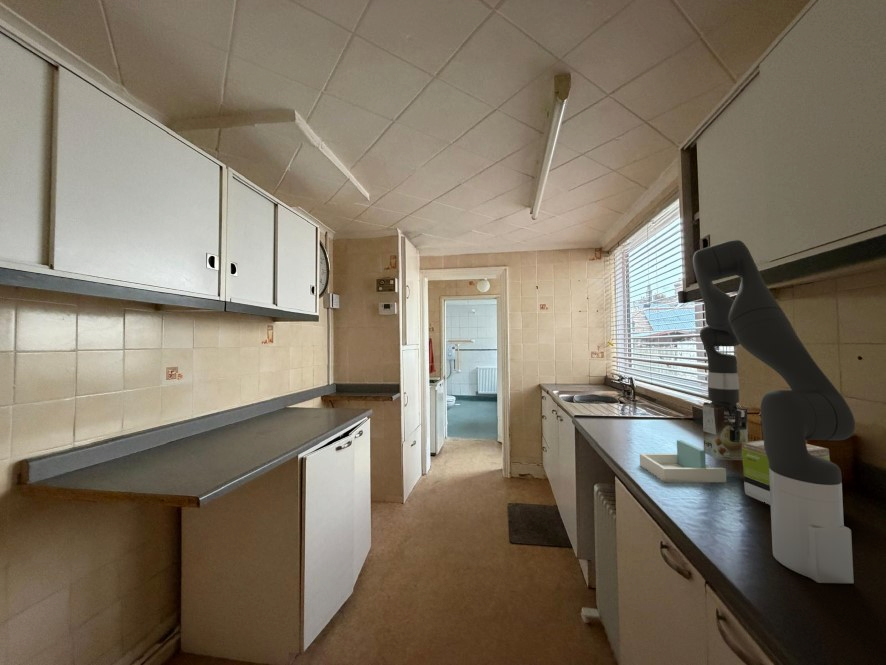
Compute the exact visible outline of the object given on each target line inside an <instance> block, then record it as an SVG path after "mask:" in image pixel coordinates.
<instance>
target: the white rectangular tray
mask: <svg viewBox="0 0 886 665" xmlns="http://www.w3.org/2000/svg"><path fill="white" fill-rule="evenodd" d="M640 465H641V466H640ZM639 466H640V467H641V468H643V467H644V468H643V469H644V470H646V469H647V470H649V471H650V472H651V473H650V472H649V471H648V472H649V473H650V474H652V473H653V474H654V475H653V474H652V475H653V476H655V475H656V476H657V477H656V476H655V477H656V478H658V479H659V478H660V479H659V480H661V481H662V482H663V481H664V483H727V468H725V467H713V466H710V465H709V464H707V463H706V468H686V467H684V466H682V465H680V464H678V461H677V453H639ZM647 470H646V471H647Z"/></svg>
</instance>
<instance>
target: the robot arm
mask: <svg viewBox="0 0 886 665" xmlns="http://www.w3.org/2000/svg"><path fill="white" fill-rule="evenodd" d="M692 264H693V270H694V274H695V279H696V282H697V286H698V289H699V292H700V295H701V297H702V301H703V302H702V303H703V305H704V314H705V316H704V317H705V322H706V323H705V324H706V325H704V326H703V327H701V330H700V331H699V338H700V340H701V343H702V345H703V347H704V350H705V352H706V357H707V368H708V374H707V398H708V399H707V400H708V401H705V402H703V404H704V405H716V406H721V407H724V408H728V410H729V415H732V413H733V412H734V415H735V420H730V419H729V418H727V422H728V423H729V427H730V429H731V430H730V441H731V442H739V441H740V430H746V429H747V423H748V410H747V411H746V410H739V409H738V408H737V406H738V405H737V404H738V403H740V384H739V383H740V381H739V375H738V360H737V359H738V358H737V357H736V356H735V355H734V354H730V353H729V354H728V353H723V352H720V351H718V350H717V349H716V348H715V347H738V346H739V345H741V347H742V348H743V349H745V351H746V352H748V353H749V354H751V355H752V356H753V357H754V358H756V359H757V360H759V361H761V362H763V363H764V364H766V366H768V367H770V368H771V369H772V370H773V371H775V372H776V373H777V374H778V375H780V376H781V378H782V379H783V380H784V381H785V382H786V384H787V385H788V387H789V388H790V390H789V389H788V390H787V389H781V390H780V389H778V390H777V389H776V390H771V391H768V392H766V393H765V394H764V396H763V397H762V399H761V402H760V422H761V427H762V428H761V429H762V438H763V439H762V440H764V448H765V452H766V455H767V458H768V461H769V477H770V502H771V505H770V519H771V520H770V523H771V542H772V556H773V557H774V558H775V560H776V561H777V562H779V563H780V564H781V565H783V566H784V567H786V568H788V569H789V570H791V571H793V572H795V573H797V574H799V575H802V576H805V577H806V578H807V577H808V578H809V579H811V580H813V581H815V582H816V583H818V584H854V583H855V582H854V566H853V565H854V563H853V546H852V545H853V544H852V543H853V542H852V541H853V540H852V529H850V528H849V527H847V526H845V524H844V506H843V505H844V504H843V501H844V500H843V483H842V482H843V481H842V479H843V478H842V471H841V468H840V467H839V465H837V463H834V462H832V461H831V460H830V461H828V460H826V459H823V458H820V457H817V456H814V455H811V454H809V453H808V450H807V446H806V444H807V443H806V440H807V441H808V440H809V441H845V440H847V439H849V438H850V437H852V435H853V434H854V432H855V428H856V422H855V417H854V415H853V412H852V410H851V408H850V406H849V404H848V403H847V402H846V400H845V399H844V397H843V396H842V395H841V393H840V391H838V390H837V388H836V387H835V385H834V384H833V383H832V382H831V380H829V378H828V377H827V375H826V374H825V373H824V372H823V371H822V369H821V367H819V366H818V364H817V363H816V361H815V360H814V359H813V357H812V356H811V354H810V353H809V352H808V350H807V349H806V347H805V346H804V344H803V342H802V341H801V339H800V337H799V336H798V334H797V332H796V331H795V329H794V327H793V324H791V322H790V320H789V319H788V316H787V315H786V313H785V312H784V310H783V309H782V307H781V306H780V304H779V303H778V301H777V300H776V299H775V297H774V295H773V294H772V293H771V291H770V289H769V288H768V286H767V284H766V282H765V281H764V278H763V277H762V274H761V273H760V271H759V269H758V265H757V264H756V263H755V260H754V258H753V256H752V253H751V251H750V250H749V248H748V247H747V245H746V244H745V243H744V242H743V241H742V240H739V239H733V240H728V241H724V242H721V243H717V244H714V245H711V246H707V247H704V248H702V249H698V250H696V251H695V252H694V254H693V257H692ZM735 276H737V277H739V279H740V284H739V289H738V292H737V293H736V294H737V295H736V296H735V298H734V299H733V298H732V297H731V296H730V294H727V293H726V292H724V291H722V290H721V289H720V288H718V287H717V286H716V285H714V283H713V281H714V282H715V281H719V280H723V279H726V278H730V277H735ZM732 422H735V426H733V423H732ZM740 422H742V425H741V426H740Z"/></svg>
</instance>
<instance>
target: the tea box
mask: <svg viewBox="0 0 886 665" xmlns="http://www.w3.org/2000/svg"><path fill="white" fill-rule="evenodd" d="M806 446H807V450H808V453H809V454H811V455H814V456H817V457H820V458H823V459H826V460H828V461H831V458H830V449H829V448H827V447H823V446H818V445H813V444H808V443H806ZM742 455H743V460H742V467H743V482H744V483H743V485H744V486H743V487H744V493H745V495H746V496H747V497H751V498H753V499H756V500H757V501H759V502H762V503H764V502H765V503H764V504H767V505H769V506H771V502H770V477H769V461H768V458H767V455H766V452H765V448H764V440H763V439H762V440H761V439H760V440H755V441H748V442H742Z"/></svg>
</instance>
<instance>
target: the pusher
mask: <svg viewBox="0 0 886 665" xmlns="http://www.w3.org/2000/svg"><path fill="white" fill-rule="evenodd" d="M676 454H677V461H678V464H680V465H682V466H684V467H686V468H706V464H707V462H706V461H707V459H706V457H707V456H706V453H705V450H704V449H702V448H700V447H697V446H696V445H693V444H691V443H689V442H686V441H684V440H682V439H677V440H676Z"/></svg>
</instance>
